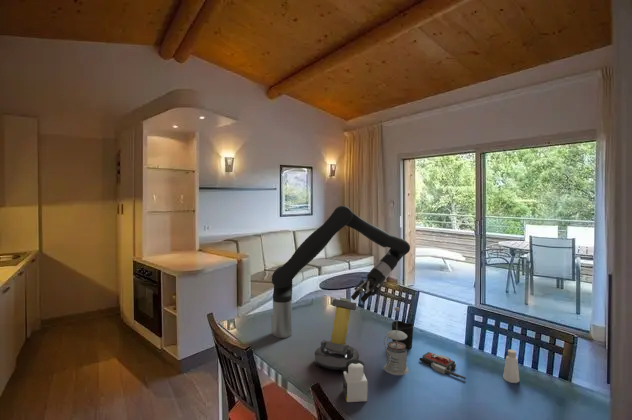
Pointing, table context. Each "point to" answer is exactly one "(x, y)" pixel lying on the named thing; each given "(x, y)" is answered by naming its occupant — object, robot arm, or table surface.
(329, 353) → the dark grey round stand
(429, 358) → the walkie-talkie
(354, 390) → the medicine bottle
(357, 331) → the table surface
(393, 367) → the french press
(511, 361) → the pepper shaker
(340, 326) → the yellow mallet
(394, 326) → the pen holder
